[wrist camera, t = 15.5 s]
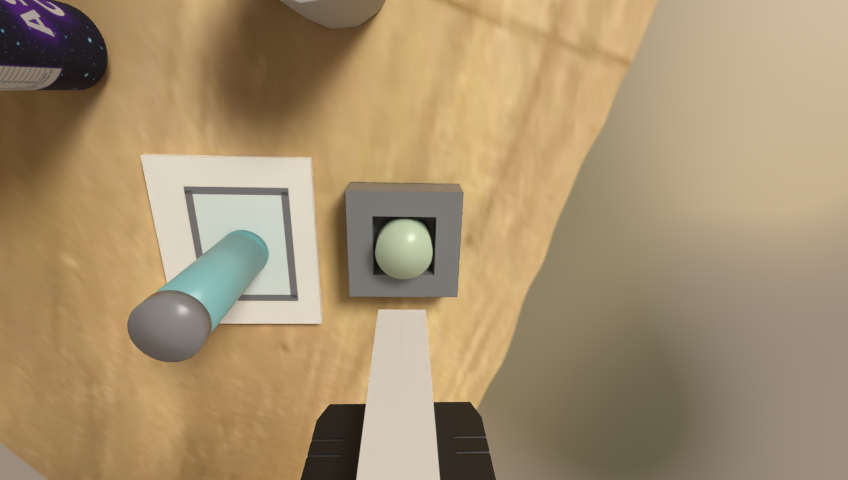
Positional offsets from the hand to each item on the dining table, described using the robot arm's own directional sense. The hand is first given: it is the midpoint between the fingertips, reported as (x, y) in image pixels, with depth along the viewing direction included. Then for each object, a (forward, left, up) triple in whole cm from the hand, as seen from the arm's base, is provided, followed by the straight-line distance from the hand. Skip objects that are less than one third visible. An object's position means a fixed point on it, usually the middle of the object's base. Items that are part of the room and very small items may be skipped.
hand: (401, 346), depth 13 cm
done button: (+4, 0, -21) cm, 22 cm away
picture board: (+5, -14, -22) cm, 27 cm away
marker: (+6, -14, -22) cm, 26 cm away
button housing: (+4, 0, -22) cm, 23 cm away
